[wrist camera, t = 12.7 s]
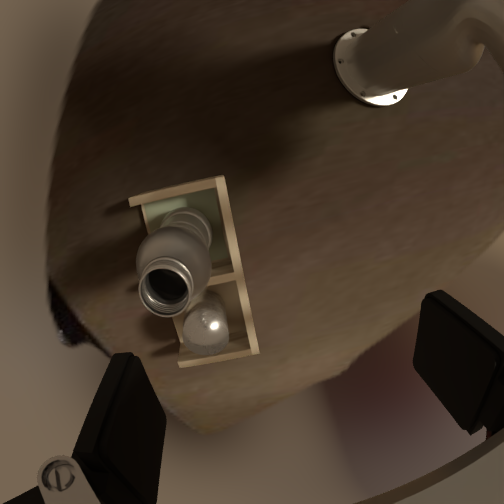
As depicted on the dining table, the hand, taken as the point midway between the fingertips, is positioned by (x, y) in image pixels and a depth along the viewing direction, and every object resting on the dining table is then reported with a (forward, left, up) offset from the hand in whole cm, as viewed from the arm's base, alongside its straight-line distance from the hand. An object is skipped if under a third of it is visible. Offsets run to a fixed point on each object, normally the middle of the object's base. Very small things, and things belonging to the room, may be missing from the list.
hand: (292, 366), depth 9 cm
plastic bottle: (+4, -4, -31) cm, 32 cm away
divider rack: (+9, -1, -32) cm, 33 cm away
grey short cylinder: (+14, +2, -31) cm, 34 cm away
